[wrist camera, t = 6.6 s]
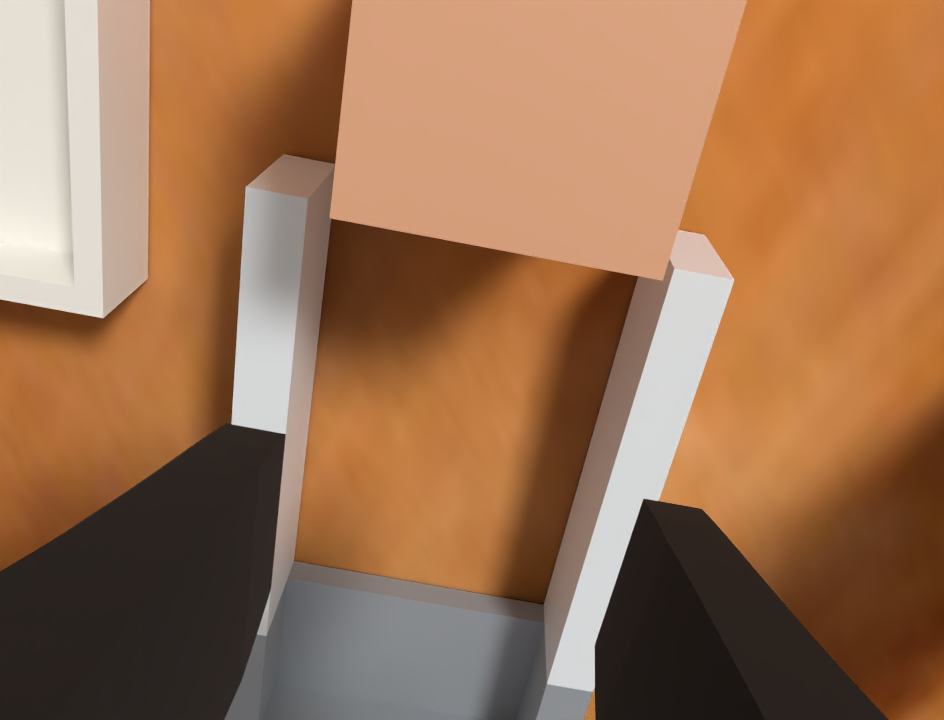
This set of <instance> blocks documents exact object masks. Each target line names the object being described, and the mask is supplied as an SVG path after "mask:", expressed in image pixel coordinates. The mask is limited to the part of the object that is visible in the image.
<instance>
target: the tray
mask: <svg viewBox="0 0 944 720" xmlns="http://www.w3.org/2000/svg"><path fill="white" fill-rule="evenodd" d="M149 70H150V0H0V299H1V300H6V301H12V302H17V303H23V304H28V305H34V306H39V307H45V308H50V309H55V310H61V311H66V312H72V313H77V314H83V315H88V316H94V317H99V318H104V317H105V316H106V315H108V314H109V313H110V312H111V311H112V310H113V309H114V308H115V307H117V306H118V305H119V304H120V303H121V302H122V301H123V300H124V299H126V298H127V297H128V296H129V295H130V294H131V293H132V292H134V291H135V290H136V289H137V288H138V287H139V286H140V285H141V284H143V283H144V282H145V281H146V280H147V279H148V200H149Z"/></svg>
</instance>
